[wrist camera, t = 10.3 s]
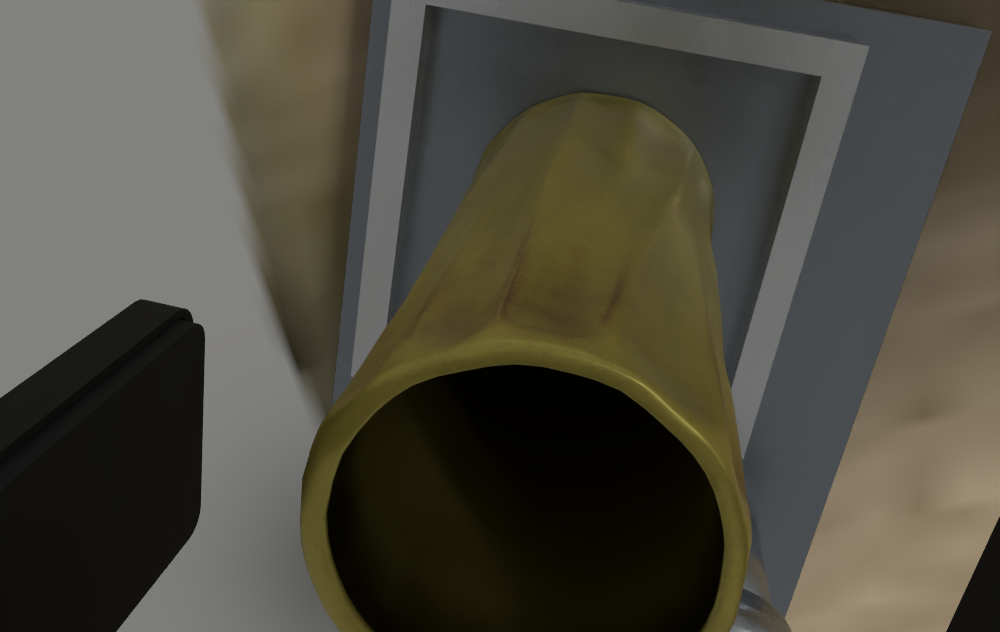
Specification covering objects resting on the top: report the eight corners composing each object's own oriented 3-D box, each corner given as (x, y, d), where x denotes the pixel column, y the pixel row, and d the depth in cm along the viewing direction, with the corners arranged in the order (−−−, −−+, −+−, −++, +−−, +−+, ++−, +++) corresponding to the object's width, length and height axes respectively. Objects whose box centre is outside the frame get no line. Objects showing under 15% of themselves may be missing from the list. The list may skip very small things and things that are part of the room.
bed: (393, -77, 23) (324, -80, 18) (975, 25, 22) (1067, 52, 17) (329, 527, 30) (268, 641, 25) (767, 626, 29) (791, 765, 24)
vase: (688, 63, 22) (746, 248, 9) (733, 303, 24) (835, 741, 11) (442, 123, 23) (179, 360, 10) (505, 345, 25) (351, 779, 12)
